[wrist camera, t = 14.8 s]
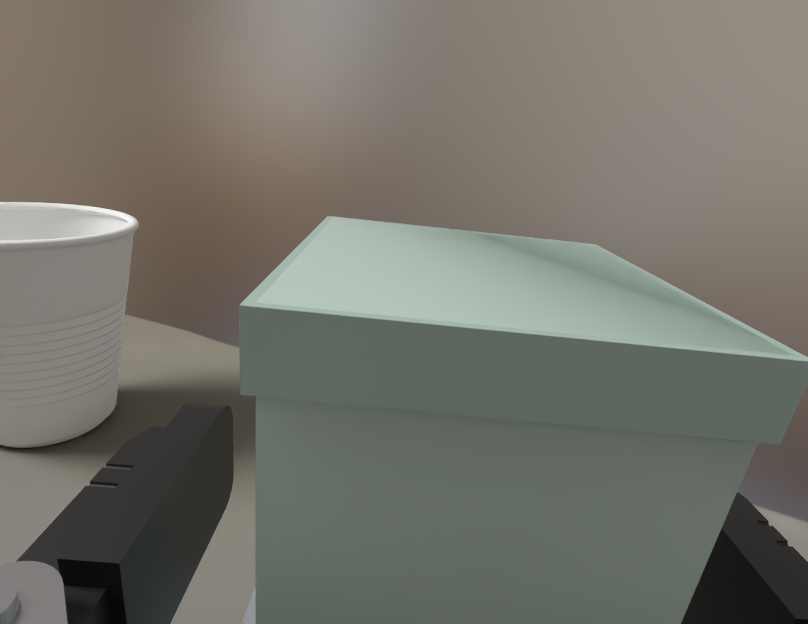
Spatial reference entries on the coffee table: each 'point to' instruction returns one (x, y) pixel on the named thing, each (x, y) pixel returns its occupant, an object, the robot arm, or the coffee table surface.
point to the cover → (493, 430)
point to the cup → (60, 318)
